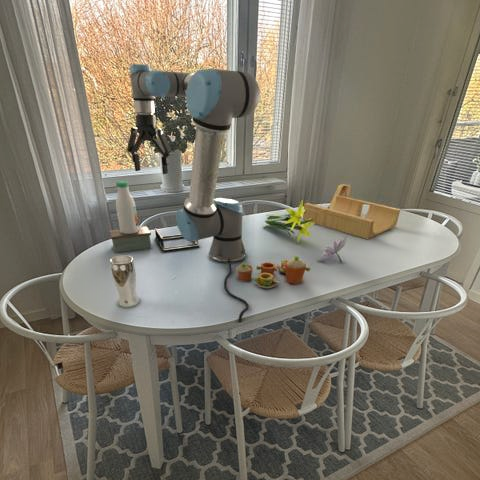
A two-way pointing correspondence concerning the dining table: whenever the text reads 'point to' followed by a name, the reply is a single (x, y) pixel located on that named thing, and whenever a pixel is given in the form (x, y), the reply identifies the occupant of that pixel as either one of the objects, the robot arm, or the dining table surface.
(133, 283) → the beer glass
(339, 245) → the water lily
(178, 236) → the dish rack
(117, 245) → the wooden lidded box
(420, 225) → the dining table surface
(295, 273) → the toy tea set
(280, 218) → the daffodil flowers
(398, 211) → the skate ramp
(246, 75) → the robot arm
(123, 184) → the milk bottle
